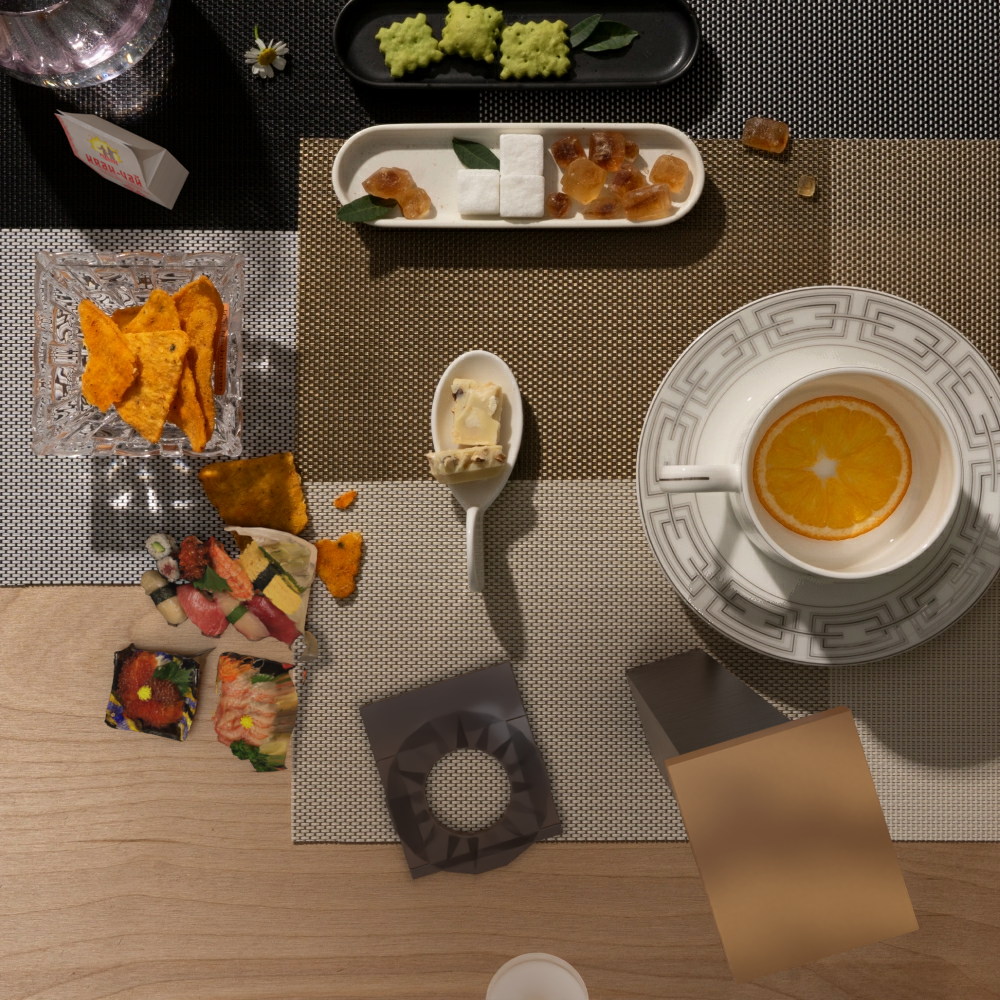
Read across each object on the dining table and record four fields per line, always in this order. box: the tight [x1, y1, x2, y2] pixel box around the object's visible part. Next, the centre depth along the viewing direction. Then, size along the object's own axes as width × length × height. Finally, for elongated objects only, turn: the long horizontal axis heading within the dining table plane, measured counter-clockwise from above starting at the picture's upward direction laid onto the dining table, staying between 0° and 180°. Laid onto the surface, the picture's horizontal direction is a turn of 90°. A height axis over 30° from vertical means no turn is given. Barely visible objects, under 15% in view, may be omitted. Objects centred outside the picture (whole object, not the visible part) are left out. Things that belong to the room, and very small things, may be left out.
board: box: [358, 659, 564, 881], centre depth 70 cm, size 17×14×2 cm
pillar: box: [624, 647, 792, 803], centre depth 56 cm, size 8×7×29 cm
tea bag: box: [53, 109, 190, 210], centre depth 66 cm, size 4×7×10 cm, turn 64°
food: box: [103, 524, 319, 773], centre depth 69 cm, size 22×19×4 cm
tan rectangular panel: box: [664, 704, 920, 986], centre depth 41 cm, size 12×10×1 cm
